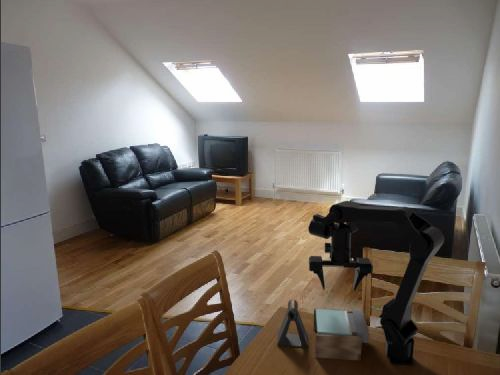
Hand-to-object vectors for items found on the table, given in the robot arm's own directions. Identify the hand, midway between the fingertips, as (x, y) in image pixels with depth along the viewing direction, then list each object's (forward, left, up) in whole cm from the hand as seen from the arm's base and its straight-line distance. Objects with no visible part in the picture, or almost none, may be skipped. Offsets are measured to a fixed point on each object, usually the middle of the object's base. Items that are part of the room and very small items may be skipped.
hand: (338, 289), depth 121 cm
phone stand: (+14, +8, -13) cm, 21 cm away
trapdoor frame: (+1, +8, -13) cm, 16 cm away
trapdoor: (0, +8, -8) cm, 12 cm away
